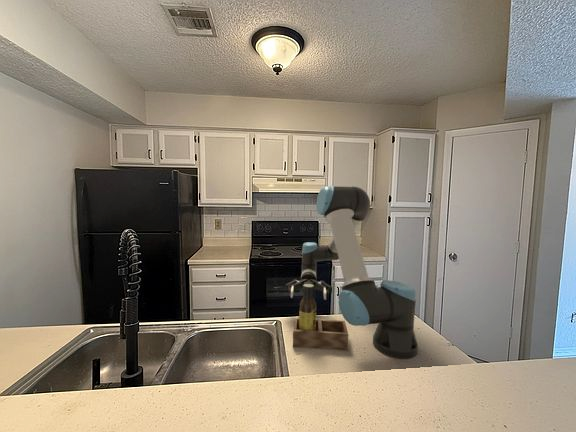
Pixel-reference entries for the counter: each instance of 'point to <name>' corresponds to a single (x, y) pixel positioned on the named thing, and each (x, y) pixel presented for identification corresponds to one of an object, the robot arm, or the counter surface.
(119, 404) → the counter surface
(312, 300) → the sauce bottle
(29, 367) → the counter surface
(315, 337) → the wooden divided box
